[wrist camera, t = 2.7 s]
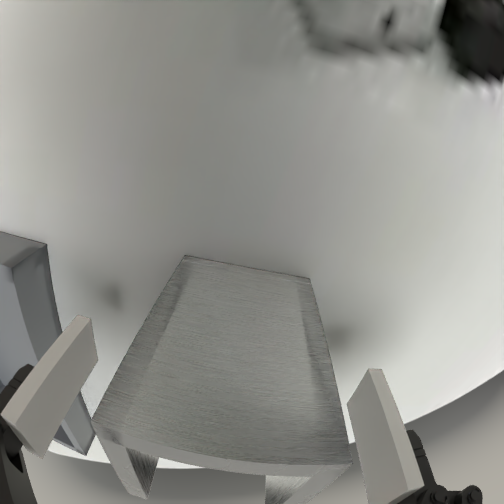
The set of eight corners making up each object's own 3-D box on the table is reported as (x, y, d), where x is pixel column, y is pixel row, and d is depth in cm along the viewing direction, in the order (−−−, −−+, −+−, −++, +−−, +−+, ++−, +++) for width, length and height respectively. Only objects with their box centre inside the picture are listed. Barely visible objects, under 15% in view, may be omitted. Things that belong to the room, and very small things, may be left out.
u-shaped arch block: (185, 255, 14) (90, 421, 5) (309, 278, 14) (352, 463, 5) (178, 348, 17) (128, 493, 8) (280, 367, 17) (283, 519, 8)
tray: (-51, 216, 14) (-76, 229, 11) (46, 244, 14) (11, 268, 11) (3, 383, 23) (-10, 400, 19) (96, 432, 23) (86, 455, 20)
